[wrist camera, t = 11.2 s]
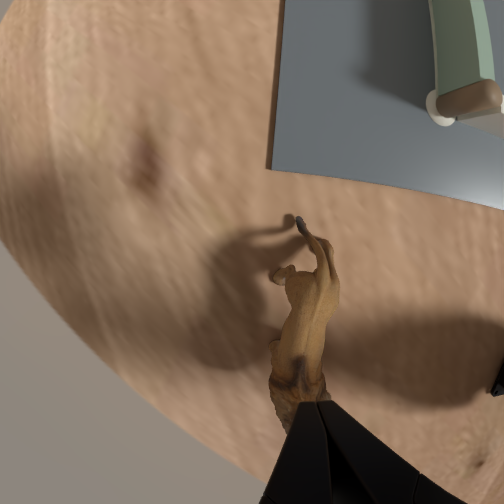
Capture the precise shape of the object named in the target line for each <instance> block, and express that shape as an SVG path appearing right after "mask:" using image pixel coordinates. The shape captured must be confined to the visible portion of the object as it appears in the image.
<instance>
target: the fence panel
mask: <svg viewBox="0 0 504 504" xmlns="http://www.w3.org/2000/svg"><path fill="white" fill-rule="evenodd" d="M432 6H433V14H434V23H435V33H436V46H437V64H438V98H437V99H436V108H437V111H438V112H439V114H440V115H441V116H443V117H444V118H451V117H455V116H460V115H464V114H468V113H473V112H477V111H482V110H486V109H491V108H496V107H499V106H501V104H502V101H503V96H502V92H501V89H500V87H499V86H498V84H497V83H496V82H495V74H494V63H493V55H492V47H491V40H490V33H489V27H488V21H487V16H486V11H485V6H484V2H483V0H432Z"/></svg>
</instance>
